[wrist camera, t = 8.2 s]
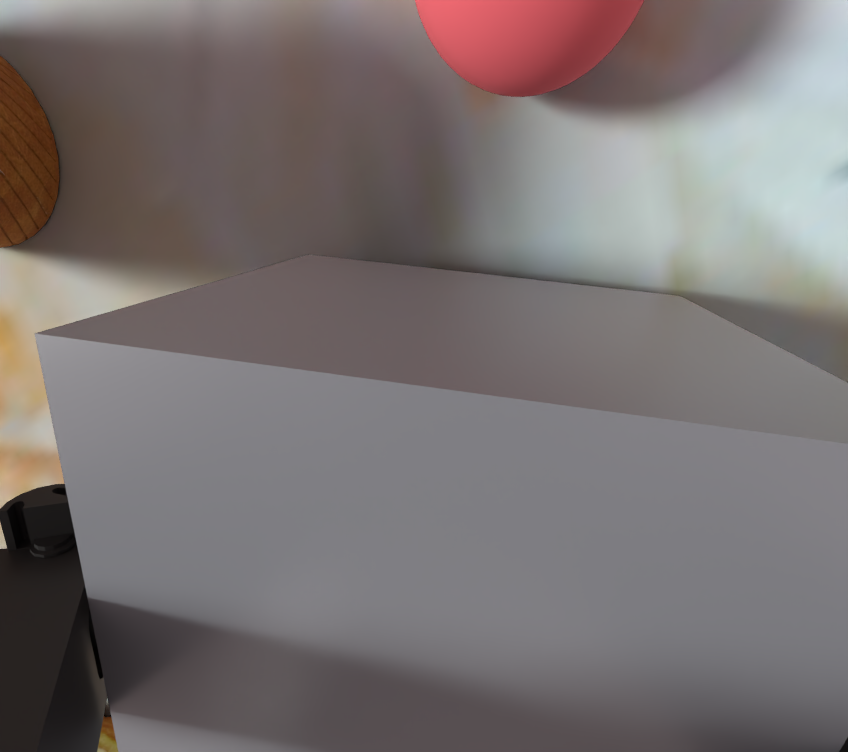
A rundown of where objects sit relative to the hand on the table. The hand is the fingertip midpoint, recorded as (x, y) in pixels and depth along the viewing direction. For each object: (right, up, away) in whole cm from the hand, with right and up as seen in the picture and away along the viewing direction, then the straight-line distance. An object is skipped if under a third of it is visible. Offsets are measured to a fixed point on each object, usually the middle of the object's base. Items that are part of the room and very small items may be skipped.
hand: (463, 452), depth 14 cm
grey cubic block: (0, 0, +1) cm, 1 cm away
